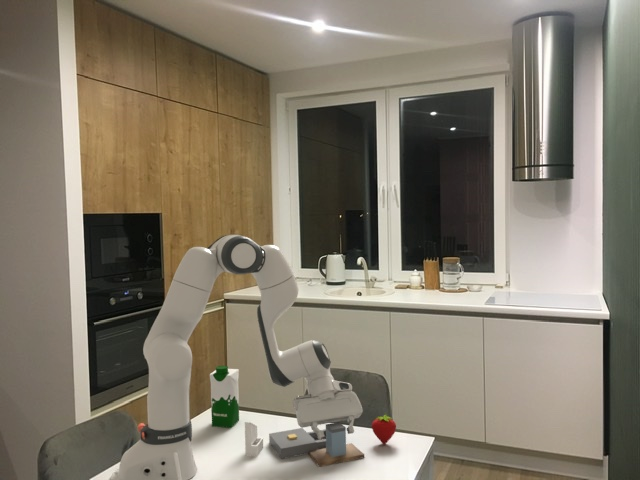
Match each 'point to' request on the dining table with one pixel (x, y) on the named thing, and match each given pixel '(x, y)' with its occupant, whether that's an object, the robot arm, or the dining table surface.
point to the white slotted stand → (252, 440)
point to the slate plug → (335, 439)
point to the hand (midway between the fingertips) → (336, 435)
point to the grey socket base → (295, 442)
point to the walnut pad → (325, 459)
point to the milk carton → (224, 397)
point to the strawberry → (384, 428)
